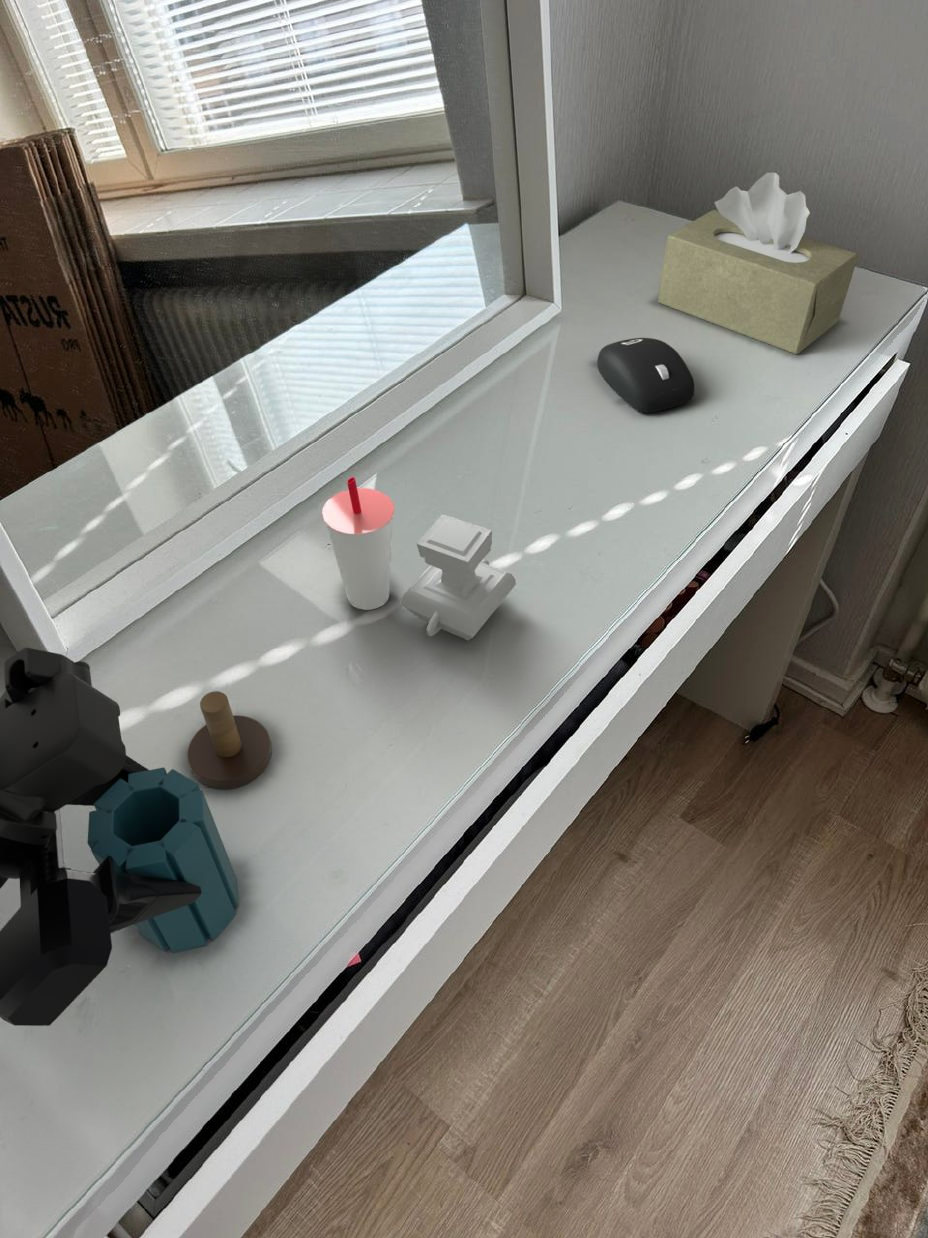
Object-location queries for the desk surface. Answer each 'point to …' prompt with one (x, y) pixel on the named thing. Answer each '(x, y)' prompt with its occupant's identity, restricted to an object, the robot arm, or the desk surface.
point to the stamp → (457, 579)
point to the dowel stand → (227, 746)
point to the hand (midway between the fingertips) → (188, 845)
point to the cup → (362, 543)
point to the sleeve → (168, 851)
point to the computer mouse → (646, 374)
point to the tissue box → (757, 268)
